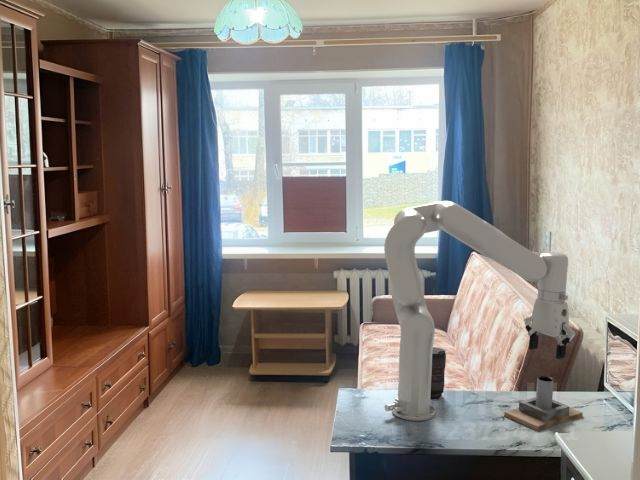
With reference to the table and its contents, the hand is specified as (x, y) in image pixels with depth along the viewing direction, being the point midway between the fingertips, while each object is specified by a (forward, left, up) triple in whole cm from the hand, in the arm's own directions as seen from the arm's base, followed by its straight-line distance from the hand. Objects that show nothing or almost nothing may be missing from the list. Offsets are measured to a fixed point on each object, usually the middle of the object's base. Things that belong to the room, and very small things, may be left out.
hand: (546, 353), depth 198 cm
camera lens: (-18, +29, -19) cm, 39 cm away
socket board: (0, 0, -19) cm, 19 cm away
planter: (0, 0, -18) cm, 18 cm away
